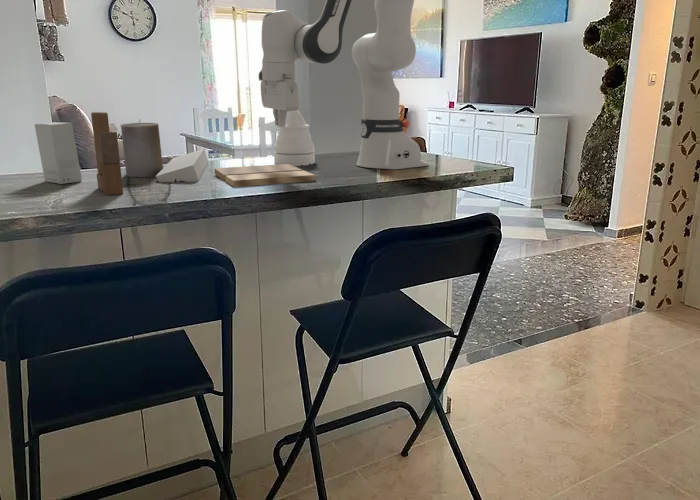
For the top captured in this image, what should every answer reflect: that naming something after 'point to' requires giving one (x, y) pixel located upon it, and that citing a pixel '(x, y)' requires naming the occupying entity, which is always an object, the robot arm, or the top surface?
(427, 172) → the top surface
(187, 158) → the decorative molding
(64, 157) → the skincare box
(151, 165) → the pillar candle
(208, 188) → the top surface
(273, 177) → the laid oak board
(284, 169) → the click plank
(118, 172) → the wooden block
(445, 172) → the top surface
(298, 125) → the honey pot
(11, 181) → the top surface
